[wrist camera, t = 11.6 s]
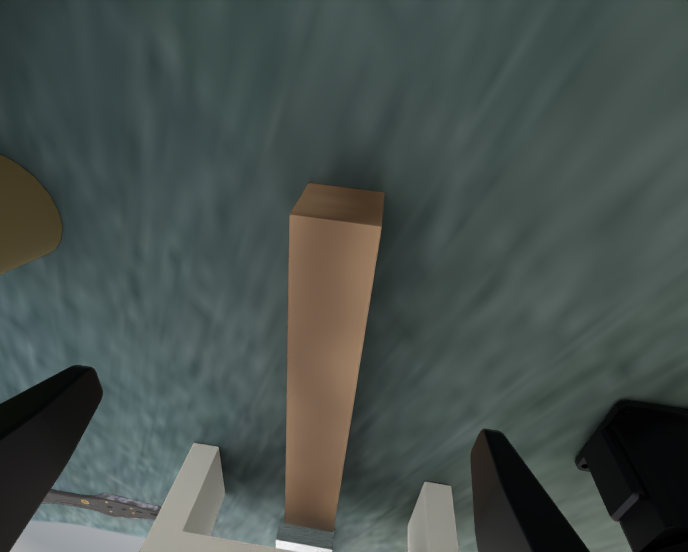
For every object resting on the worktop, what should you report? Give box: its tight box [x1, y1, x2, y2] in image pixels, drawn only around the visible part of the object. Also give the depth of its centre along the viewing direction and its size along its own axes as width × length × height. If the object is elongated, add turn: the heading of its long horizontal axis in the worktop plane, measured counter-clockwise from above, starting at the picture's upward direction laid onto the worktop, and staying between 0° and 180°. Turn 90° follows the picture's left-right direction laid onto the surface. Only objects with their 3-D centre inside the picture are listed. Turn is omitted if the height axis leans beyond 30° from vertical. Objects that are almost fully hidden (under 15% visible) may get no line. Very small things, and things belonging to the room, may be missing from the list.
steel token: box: [276, 520, 335, 552], centre depth 36 cm, size 5×5×2 cm
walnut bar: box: [285, 183, 385, 532], centre depth 23 cm, size 4×24×4 cm, turn 174°
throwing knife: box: [41, 489, 161, 520], centre depth 37 cm, size 4×20×1 cm, turn 85°
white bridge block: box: [139, 443, 459, 552], centre depth 28 cm, size 20×7×8 cm, turn 84°
